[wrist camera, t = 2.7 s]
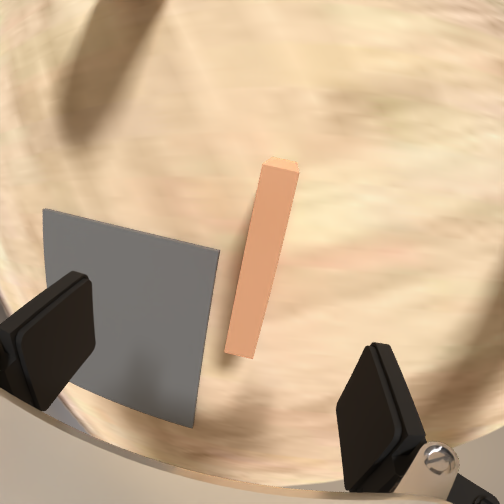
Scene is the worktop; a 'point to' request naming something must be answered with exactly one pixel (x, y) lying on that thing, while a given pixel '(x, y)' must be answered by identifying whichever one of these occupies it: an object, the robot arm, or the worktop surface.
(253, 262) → the block
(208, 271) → the mat
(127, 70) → the worktop surface
